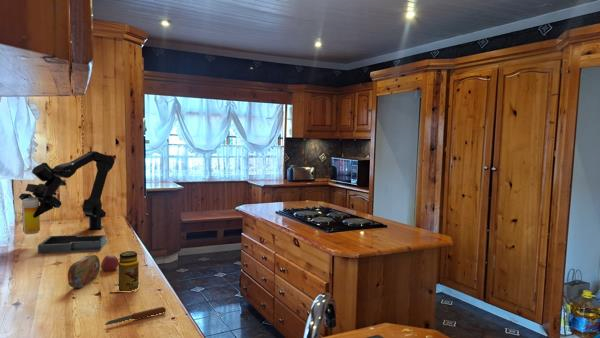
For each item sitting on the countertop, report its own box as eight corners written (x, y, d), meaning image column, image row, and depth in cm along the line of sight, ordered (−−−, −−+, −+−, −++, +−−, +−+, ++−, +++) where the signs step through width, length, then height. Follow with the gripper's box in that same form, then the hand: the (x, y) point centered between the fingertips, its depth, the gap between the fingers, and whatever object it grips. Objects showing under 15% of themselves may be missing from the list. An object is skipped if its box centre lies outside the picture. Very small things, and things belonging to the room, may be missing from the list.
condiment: (137, 292, 124) (137, 256, 123) (109, 293, 122) (108, 257, 121) (141, 283, 131) (141, 249, 130) (114, 285, 129) (114, 250, 128)
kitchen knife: (164, 312, 111) (164, 305, 111) (166, 314, 110) (166, 307, 110) (104, 326, 102) (104, 319, 102) (105, 328, 101) (105, 321, 101)
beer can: (42, 232, 169) (41, 199, 168) (26, 235, 164) (25, 200, 163) (36, 230, 173) (35, 197, 171) (21, 233, 168) (19, 199, 166)
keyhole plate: (50, 243, 172) (50, 236, 172) (106, 241, 179) (106, 233, 179) (38, 254, 158) (37, 245, 158) (100, 250, 165) (100, 242, 164)
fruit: (115, 276, 142) (126, 257, 143) (100, 271, 139) (112, 251, 140) (113, 271, 147) (124, 252, 148) (98, 266, 144) (110, 246, 145)
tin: (75, 292, 123) (75, 266, 122) (65, 291, 123) (65, 265, 122) (100, 274, 138) (100, 252, 137) (92, 274, 138) (91, 251, 137)
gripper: (21, 175, 172) (-3, 204, 163) (54, 178, 167) (31, 207, 158) (38, 190, 181) (16, 218, 171) (70, 193, 176) (49, 222, 166)
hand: (28, 216), depth 166 cm, fingers closed on beer can, 6 cm apart
